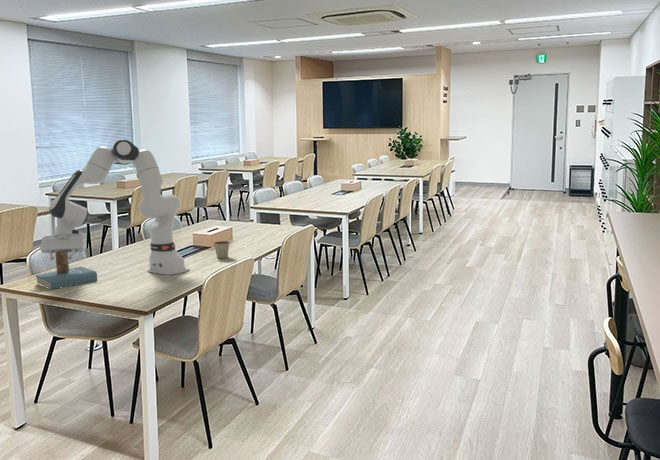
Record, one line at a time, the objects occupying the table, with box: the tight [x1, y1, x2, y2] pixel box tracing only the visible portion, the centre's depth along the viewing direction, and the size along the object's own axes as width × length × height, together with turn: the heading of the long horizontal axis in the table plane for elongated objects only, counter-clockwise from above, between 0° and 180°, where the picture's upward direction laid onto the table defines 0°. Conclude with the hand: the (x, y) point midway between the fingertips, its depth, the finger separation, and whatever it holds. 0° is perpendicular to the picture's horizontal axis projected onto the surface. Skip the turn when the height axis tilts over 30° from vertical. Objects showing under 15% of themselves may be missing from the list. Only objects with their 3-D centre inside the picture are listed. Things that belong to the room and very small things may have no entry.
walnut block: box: [54, 251, 70, 274], centre depth 293 cm, size 4×4×10 cm
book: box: [35, 266, 98, 290], centre depth 293 cm, size 23×16×5 cm
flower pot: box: [213, 240, 231, 259], centre depth 344 cm, size 9×9×9 cm
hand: (61, 258), depth 292 cm, fingers open, 7 cm apart
